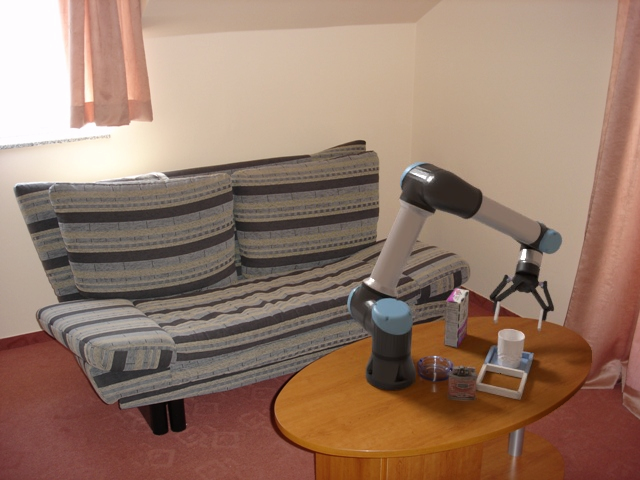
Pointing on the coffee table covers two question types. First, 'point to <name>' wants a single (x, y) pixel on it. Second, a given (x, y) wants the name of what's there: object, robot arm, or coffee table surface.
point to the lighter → (462, 383)
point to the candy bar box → (456, 317)
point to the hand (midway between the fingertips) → (516, 325)
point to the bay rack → (495, 367)
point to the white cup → (510, 348)
